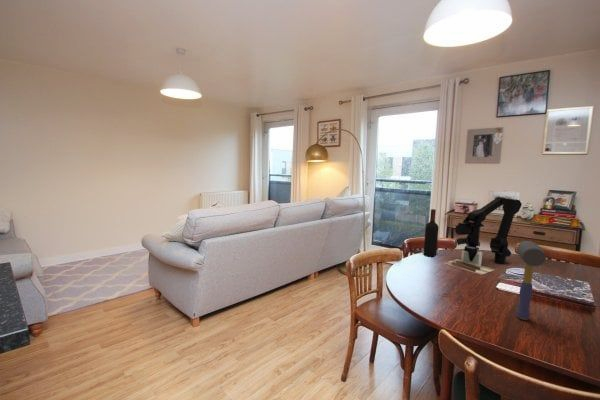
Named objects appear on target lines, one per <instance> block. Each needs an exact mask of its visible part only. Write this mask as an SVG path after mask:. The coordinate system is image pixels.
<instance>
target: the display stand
mask: <svg viewBox="0 0 600 400" xmlns="http://www.w3.org/2000/svg"><path fill="white" fill-rule="evenodd" d="M444 264H446V265H449V266H452V267H455V268H458V269H462V270H465V271H468V272H472V273H474V274H478V275H480V276H482V275H484V274H487V273H490V272H493V271H495V270H496V269H495V268H491V267H487V266H484V265H481V267H479V266H474V265H471V264H468V263H464V262H461V258H455V259H452V260H448V261H444Z"/></svg>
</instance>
